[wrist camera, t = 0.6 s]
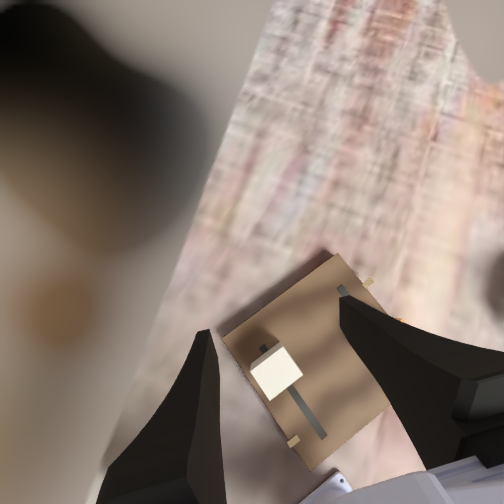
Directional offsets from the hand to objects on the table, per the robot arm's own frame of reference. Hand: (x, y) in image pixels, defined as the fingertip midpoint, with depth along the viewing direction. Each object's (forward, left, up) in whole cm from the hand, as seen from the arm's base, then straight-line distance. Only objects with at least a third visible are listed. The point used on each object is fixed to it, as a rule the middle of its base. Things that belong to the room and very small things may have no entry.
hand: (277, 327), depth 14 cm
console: (-9, -3, -25) cm, 27 cm away
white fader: (-7, +3, -23) cm, 24 cm away
